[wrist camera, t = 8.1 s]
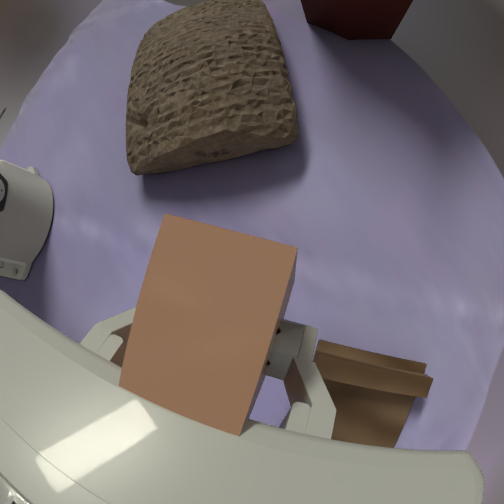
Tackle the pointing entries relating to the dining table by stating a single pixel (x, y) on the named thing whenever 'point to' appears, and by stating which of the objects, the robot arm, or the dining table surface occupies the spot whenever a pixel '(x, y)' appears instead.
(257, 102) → the stone tablet
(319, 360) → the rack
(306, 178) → the dining table surface
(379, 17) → the bucket
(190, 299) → the clay block
